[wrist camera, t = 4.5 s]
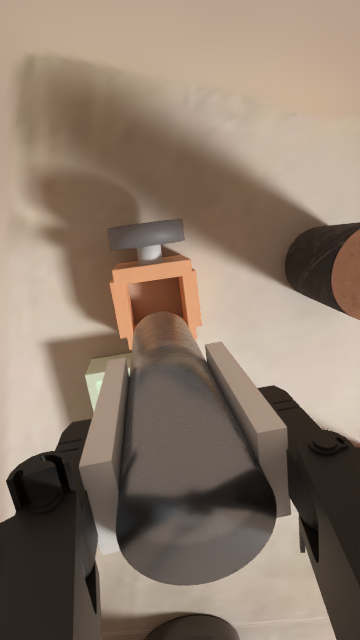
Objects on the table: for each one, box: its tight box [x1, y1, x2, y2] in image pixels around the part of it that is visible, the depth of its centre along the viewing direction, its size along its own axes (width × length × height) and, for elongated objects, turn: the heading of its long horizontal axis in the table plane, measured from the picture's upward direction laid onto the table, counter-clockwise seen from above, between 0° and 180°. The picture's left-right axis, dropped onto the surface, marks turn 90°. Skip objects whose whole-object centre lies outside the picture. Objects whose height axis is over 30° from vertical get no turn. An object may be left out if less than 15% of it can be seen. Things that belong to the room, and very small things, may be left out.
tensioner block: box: [107, 219, 202, 350], centre depth 27 cm, size 10×7×8 cm
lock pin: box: [116, 311, 277, 586], centre depth 13 cm, size 4×4×13 cm
